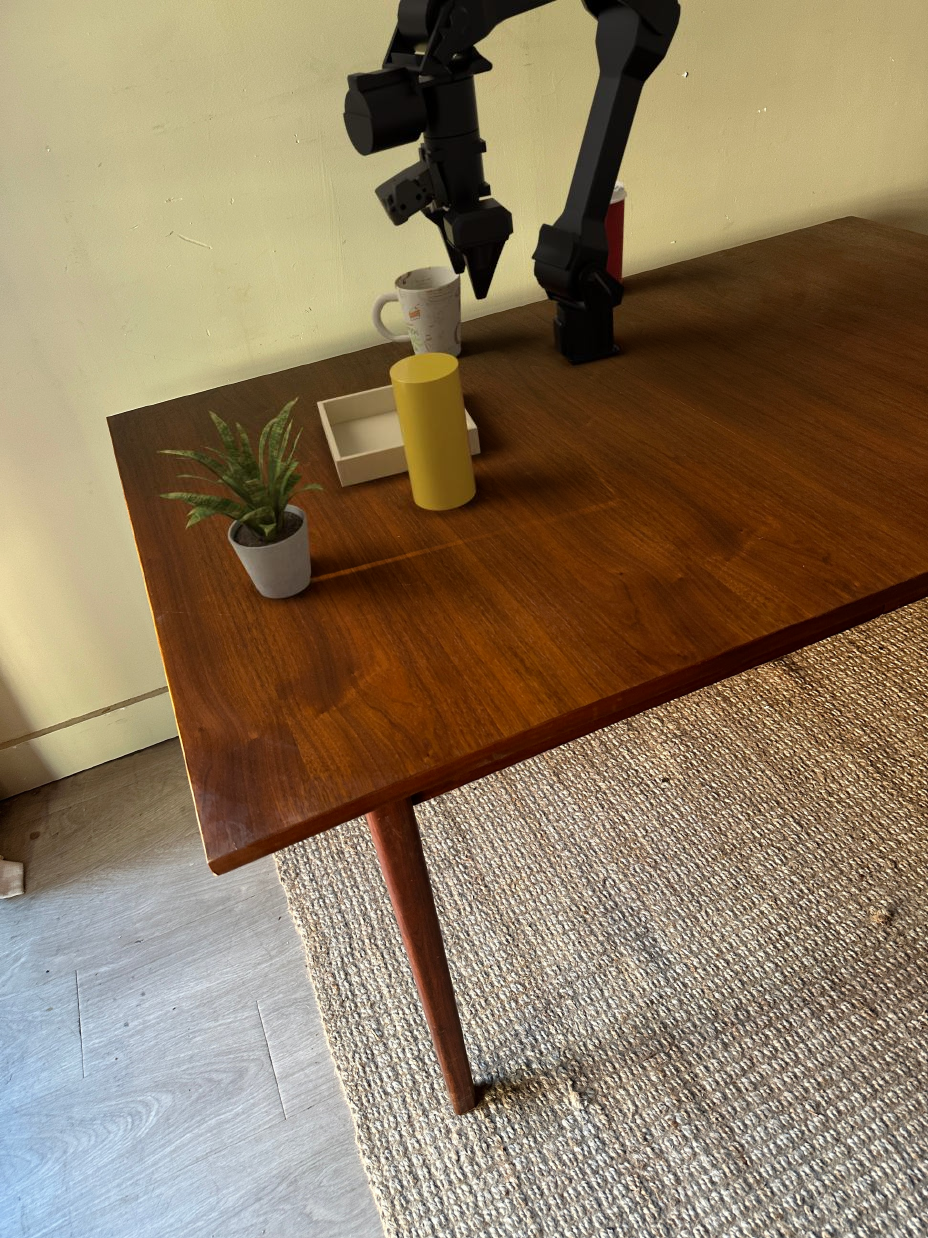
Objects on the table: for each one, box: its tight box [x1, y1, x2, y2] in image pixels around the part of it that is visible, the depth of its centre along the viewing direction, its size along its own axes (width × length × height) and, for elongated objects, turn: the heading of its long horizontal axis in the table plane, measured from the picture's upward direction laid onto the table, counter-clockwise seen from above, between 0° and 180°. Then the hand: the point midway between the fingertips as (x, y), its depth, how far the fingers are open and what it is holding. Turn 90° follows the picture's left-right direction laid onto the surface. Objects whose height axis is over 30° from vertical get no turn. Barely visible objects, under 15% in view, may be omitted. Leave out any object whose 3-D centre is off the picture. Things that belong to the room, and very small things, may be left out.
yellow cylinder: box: [389, 353, 477, 511], centre depth 89 cm, size 6×6×14 cm
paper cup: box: [605, 180, 628, 285], centre depth 126 cm, size 8×8×14 cm
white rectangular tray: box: [316, 384, 481, 488], centre depth 102 cm, size 15×15×4 cm
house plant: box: [154, 396, 326, 599], centre depth 81 cm, size 14×14×16 cm
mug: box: [370, 265, 462, 358], centre depth 119 cm, size 8×13×10 cm, turn 78°
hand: (470, 285), depth 102 cm, fingers open, 9 cm apart
